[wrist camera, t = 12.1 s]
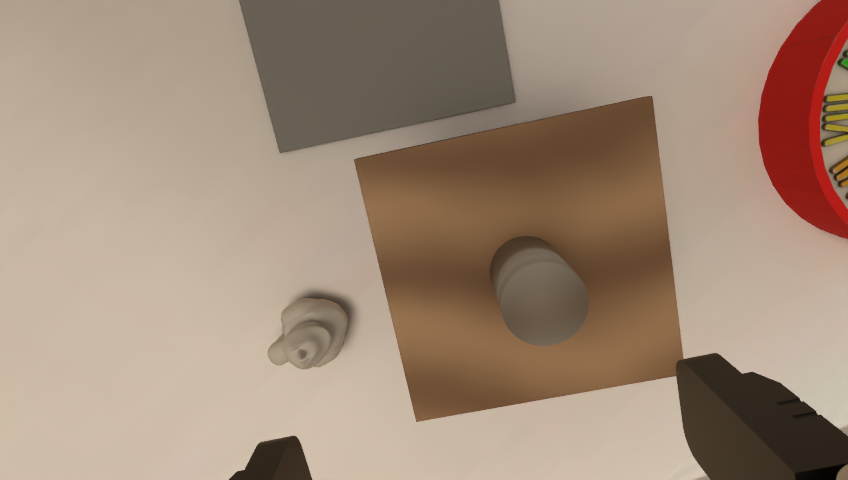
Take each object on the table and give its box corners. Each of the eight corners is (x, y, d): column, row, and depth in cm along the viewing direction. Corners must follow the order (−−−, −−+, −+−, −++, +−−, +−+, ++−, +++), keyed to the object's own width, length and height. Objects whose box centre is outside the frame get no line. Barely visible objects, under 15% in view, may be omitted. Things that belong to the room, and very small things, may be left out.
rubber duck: (366, 331, 45) (351, 376, 37) (299, 367, 46) (271, 419, 38) (330, 276, 44) (307, 311, 36) (263, 315, 45) (226, 357, 37)
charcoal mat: (214, -103, 38) (210, -107, 37) (468, -168, 37) (468, -172, 36) (282, 152, 42) (279, 153, 41) (514, 102, 40) (515, 102, 40)
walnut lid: (357, 158, 27) (333, 169, 21) (644, 96, 26) (704, 90, 20) (417, 411, 30) (411, 484, 24) (676, 365, 29) (738, 429, 23)
